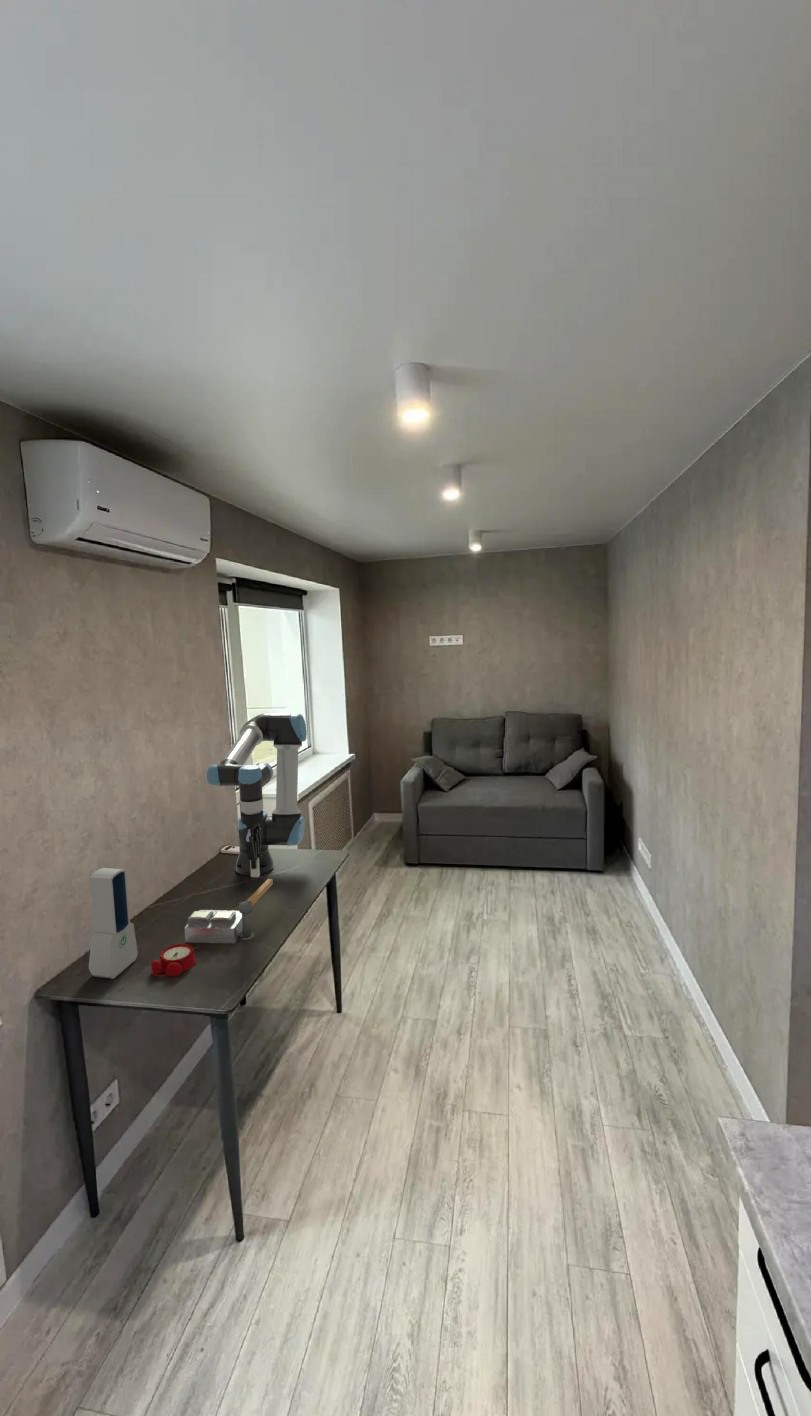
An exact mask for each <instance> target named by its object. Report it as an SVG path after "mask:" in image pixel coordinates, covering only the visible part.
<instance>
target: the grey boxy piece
mask: <svg viewBox="0 0 811 1416" xmlns="http://www.w3.org/2000/svg"><path fill="white" fill-rule="evenodd" d="M255 937H256V934H255V932H253V931H251V936H249V937H243V929H242V913H240V912H239V910H224V909H222V910H220V909H217V910H216V909H215V910H214V909H199V910H194V911H193V912H192V913H191V914H190V916H188V917H187V924H186V925H185V927H184V939H185V940H184V941H185V943H197V944H198V943H199V944H234V945H235V944H236V942H237V940H238V939H239V940H240V941H250V940H252V939H254V938H255Z"/></svg>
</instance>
